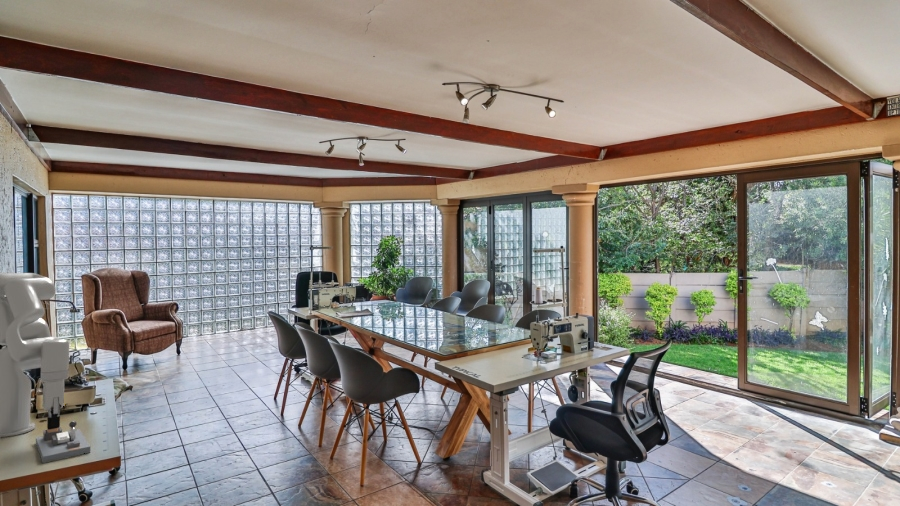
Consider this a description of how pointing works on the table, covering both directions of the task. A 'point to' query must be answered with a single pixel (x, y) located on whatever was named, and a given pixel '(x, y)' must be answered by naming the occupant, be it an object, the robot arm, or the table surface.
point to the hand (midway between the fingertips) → (53, 427)
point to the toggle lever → (73, 429)
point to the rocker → (62, 437)
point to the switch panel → (61, 446)
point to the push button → (52, 430)
